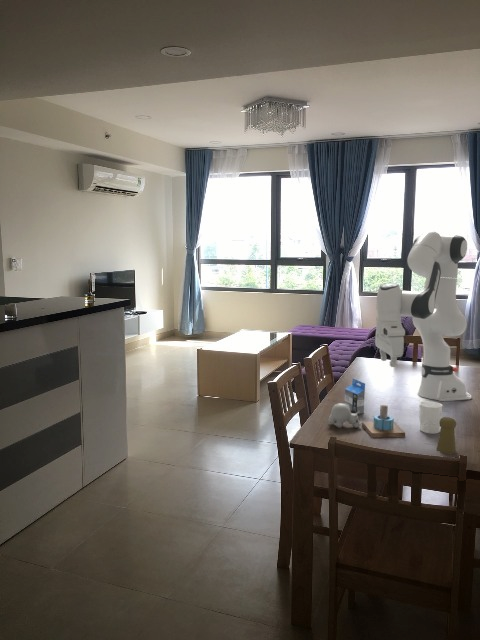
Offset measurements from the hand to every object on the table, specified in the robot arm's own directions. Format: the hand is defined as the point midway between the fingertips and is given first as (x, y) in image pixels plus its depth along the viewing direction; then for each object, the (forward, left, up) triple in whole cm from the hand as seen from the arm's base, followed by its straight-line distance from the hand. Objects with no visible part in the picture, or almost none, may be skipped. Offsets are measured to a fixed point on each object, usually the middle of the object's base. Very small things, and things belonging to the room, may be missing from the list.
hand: (388, 363), depth 201 cm
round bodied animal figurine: (+17, +4, -23) cm, 29 cm away
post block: (+4, +10, -23) cm, 25 cm away
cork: (-11, +29, -23) cm, 38 cm away
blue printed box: (+8, -14, -23) cm, 28 cm away
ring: (+4, +10, -21) cm, 24 cm away
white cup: (-13, +10, -23) cm, 28 cm away
